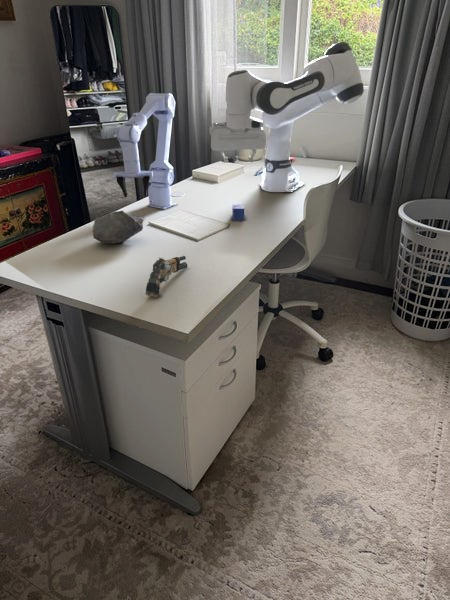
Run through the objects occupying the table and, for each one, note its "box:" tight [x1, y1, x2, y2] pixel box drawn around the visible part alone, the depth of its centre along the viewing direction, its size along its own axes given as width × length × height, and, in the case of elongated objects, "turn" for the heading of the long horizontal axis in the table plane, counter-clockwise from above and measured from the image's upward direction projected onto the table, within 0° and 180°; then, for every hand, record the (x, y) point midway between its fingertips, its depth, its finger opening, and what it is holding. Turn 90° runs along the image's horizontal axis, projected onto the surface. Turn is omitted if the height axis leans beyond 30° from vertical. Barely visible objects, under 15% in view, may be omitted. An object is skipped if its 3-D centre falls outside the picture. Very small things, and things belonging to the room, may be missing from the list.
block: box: [231, 204, 245, 222], centre depth 167 cm, size 4×5×5 cm
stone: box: [91, 210, 144, 244], centre depth 146 cm, size 18×10×15 cm
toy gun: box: [145, 255, 188, 298], centre depth 120 cm, size 3×21×10 cm, turn 158°
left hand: (135, 196), depth 164 cm, fingers open, 7 cm apart
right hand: (238, 162), depth 157 cm, fingers open, 8 cm apart
